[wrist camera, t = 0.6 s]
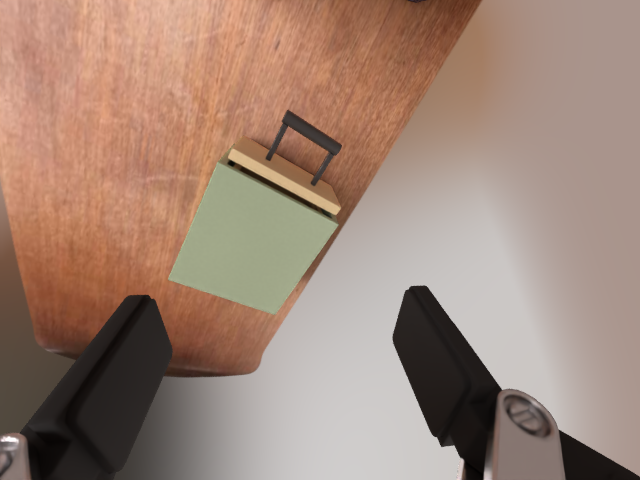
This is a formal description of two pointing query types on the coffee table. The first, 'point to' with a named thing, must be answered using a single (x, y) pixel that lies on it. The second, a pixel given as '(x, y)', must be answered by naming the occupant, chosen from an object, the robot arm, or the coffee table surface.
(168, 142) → the coffee table surface
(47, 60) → the coffee table surface
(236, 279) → the cabinet
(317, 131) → the drawer
